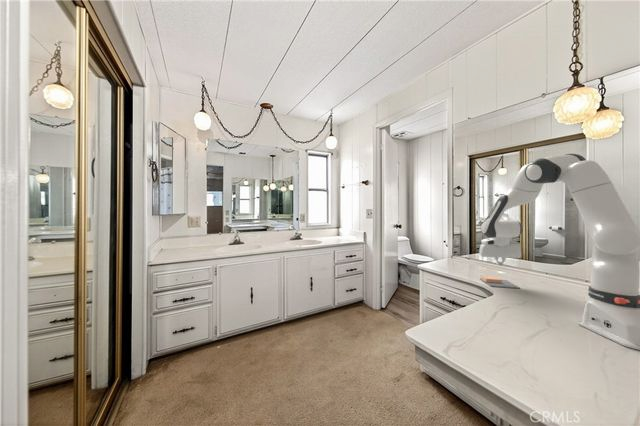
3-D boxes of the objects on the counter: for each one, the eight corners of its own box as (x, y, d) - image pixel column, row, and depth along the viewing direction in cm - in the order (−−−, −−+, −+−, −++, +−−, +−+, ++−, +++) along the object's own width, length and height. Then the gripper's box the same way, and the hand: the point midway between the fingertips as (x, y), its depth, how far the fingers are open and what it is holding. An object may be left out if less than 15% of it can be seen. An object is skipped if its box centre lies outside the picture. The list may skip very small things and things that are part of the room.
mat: (520, 288, 129) (520, 287, 129) (490, 286, 132) (490, 285, 132) (506, 281, 142) (506, 280, 142) (480, 279, 146) (480, 278, 146)
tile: (501, 279, 136) (486, 278, 138) (501, 283, 136) (485, 282, 138) (496, 276, 142) (481, 275, 144) (496, 280, 142) (481, 279, 144)
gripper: (517, 241, 139) (517, 264, 139) (478, 240, 144) (478, 262, 144) (524, 242, 133) (523, 267, 133) (482, 241, 138) (482, 265, 138)
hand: (499, 265), depth 138 cm, fingers closed
